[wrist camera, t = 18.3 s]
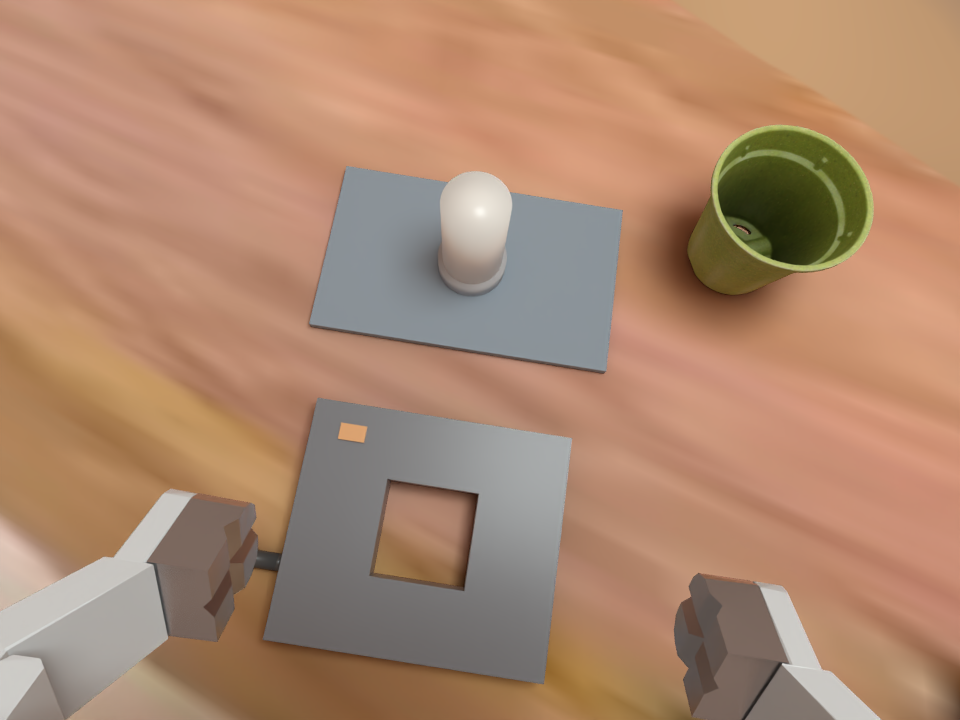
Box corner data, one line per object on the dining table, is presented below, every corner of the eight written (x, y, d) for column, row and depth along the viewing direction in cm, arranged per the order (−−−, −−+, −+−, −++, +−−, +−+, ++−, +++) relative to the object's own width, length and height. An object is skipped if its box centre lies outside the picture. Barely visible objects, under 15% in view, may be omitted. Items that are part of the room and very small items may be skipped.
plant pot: (765, 342, 42) (844, 298, 33) (642, 281, 42) (688, 224, 34) (810, 233, 44) (894, 166, 35) (692, 177, 44) (747, 99, 36)
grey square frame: (566, 442, 39) (572, 437, 37) (538, 674, 36) (544, 685, 34) (248, 391, 39) (237, 384, 37) (189, 619, 36) (173, 626, 33)
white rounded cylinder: (509, 240, 42) (523, 173, 34) (499, 301, 41) (511, 247, 33) (444, 229, 42) (442, 160, 34) (433, 290, 41) (428, 234, 33)
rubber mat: (620, 214, 43) (622, 210, 43) (603, 373, 40) (606, 371, 40) (348, 170, 43) (346, 166, 43) (311, 326, 40) (309, 324, 40)
